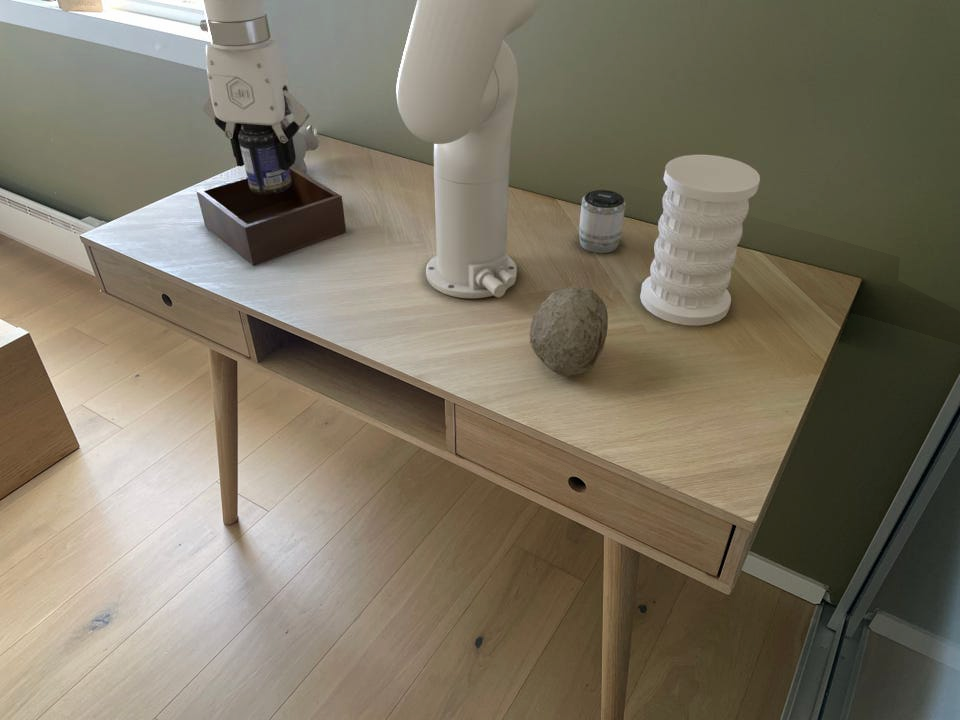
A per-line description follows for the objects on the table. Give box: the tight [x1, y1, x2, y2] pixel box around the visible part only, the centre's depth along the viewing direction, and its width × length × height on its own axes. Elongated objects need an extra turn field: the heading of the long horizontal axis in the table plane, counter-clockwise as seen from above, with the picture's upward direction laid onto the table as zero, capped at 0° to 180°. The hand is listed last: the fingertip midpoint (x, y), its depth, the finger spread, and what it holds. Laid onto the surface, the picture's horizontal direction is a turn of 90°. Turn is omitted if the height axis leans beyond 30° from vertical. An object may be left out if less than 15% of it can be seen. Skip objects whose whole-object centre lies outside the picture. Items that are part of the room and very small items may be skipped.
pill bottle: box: [238, 123, 292, 194], centre depth 102 cm, size 6×6×11 cm
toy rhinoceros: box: [292, 124, 320, 174], centre depth 126 cm, size 7×12×8 cm, turn 148°
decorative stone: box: [529, 285, 609, 377], centre depth 81 cm, size 10×8×10 cm
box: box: [195, 166, 347, 266], centre depth 108 cm, size 16×16×6 cm
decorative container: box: [639, 154, 761, 327], centre depth 90 cm, size 12×12×18 cm
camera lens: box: [578, 189, 627, 254], centre depth 105 cm, size 6×6×8 cm
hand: (266, 163), depth 103 cm, fingers closed on pill bottle, 6 cm apart
